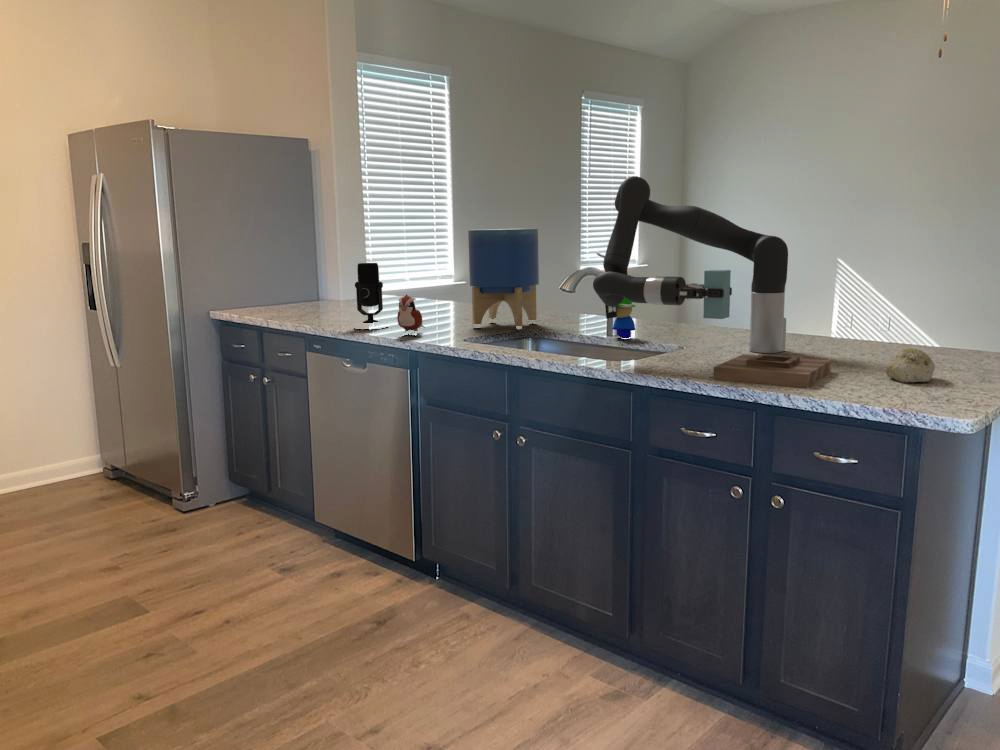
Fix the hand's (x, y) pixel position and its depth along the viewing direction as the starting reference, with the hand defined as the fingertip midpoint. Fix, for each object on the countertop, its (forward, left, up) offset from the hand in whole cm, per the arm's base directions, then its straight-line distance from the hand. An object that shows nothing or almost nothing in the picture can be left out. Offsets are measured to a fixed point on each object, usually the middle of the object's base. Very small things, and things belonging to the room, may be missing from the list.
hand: (727, 292), depth 204 cm
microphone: (+52, -143, -20) cm, 154 cm away
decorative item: (-27, +33, -20) cm, 47 cm away
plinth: (-4, +13, -20) cm, 24 cm away
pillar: (+1, -2, -7) cm, 7 cm away
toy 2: (-10, -62, -20) cm, 66 cm away
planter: (+7, -116, -20) cm, 118 cm away
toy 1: (+46, -112, -20) cm, 123 cm away
